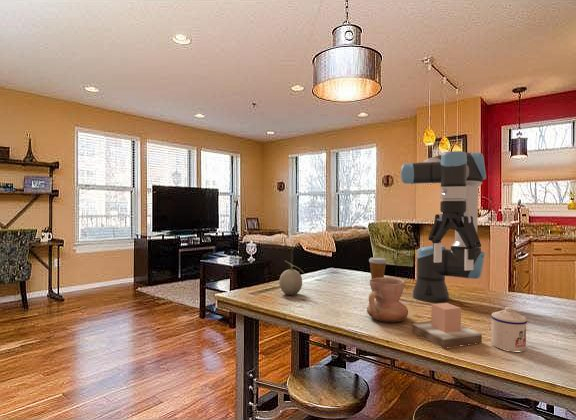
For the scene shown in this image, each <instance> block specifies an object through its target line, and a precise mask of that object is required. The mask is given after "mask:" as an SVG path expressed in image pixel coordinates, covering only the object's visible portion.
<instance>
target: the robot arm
mask: <svg viewBox="0 0 576 420" xmlns="http://www.w3.org/2000/svg"><path fill="white" fill-rule="evenodd" d="M400 179H401V181H402V183H403V184H407V185H409V184H410V185H413V184H414V185H415V184H440V199H441V201H440V206H439V207H440V209H439V210H440V212H441V214H435V216H434V222H433V224H432V227H431V229H430V233H429V235H428V237H427V238H428V241H431V243H432V245H430V246H428V245H427V246H422V247H418V249H417V257H416V281H415V284H414V287H413V290H412V297H413V299H416V300H419V301H422V302H429V303H431V302H432V303H446V302H448V301H449V300H450V293H449V290H448V288H447V284H446V277H453V278H462V279H467V280H469V279H473V280H474V279H475V280H476V279H479V278H481V276H482V273H483V267H484V262H485V255H486V252H484V251H483V250H482V243H481V240H480V237H479V235H478V221H479V220H478V218H479V216H478V214H479V213H478V210H479V209H478V208H479V187H480V186H481V185H482V184H483V180H486V179H487V173H486V165H485V158H484V154H483V153H481V152H471V151H470V152H465V151H464V150H463V151H462V150H460V151H459V150H455V151H453V150H452V151H445V152H443V153H441V154H439V155H436V156H432V157H429V158H426V159H425V160H424V161H420V162H409V163H408V162H407V163H403V164H402V166H401V169H400ZM449 230H454V242H453V243H452V244H450V249H447V248H446V246H445V245H443V243H442V240H443V238H444V237H445V236H446V235H447V232H448V231H449Z"/></svg>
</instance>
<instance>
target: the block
mask: <svg viewBox="0 0 576 420" xmlns="http://www.w3.org/2000/svg"><path fill="white" fill-rule="evenodd" d="M430 309H431V311H430V312H431V315H430V316H431V317H430V321H431V326H432V327H434V328H436V329H438V330H440V331H443V332H453V331H461V325H462V308H461V307H459V306H456V305H454V304H451V303H448V302H438V303H433V304H431V307H430Z"/></svg>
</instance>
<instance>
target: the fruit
mask: <svg viewBox="0 0 576 420" xmlns="http://www.w3.org/2000/svg"><path fill="white" fill-rule="evenodd" d="M284 262H285V263H287V264H288V265H290V268H289V269H286V270H284V271H283V272H282V273H281V274H280V277H279V280H278V281H279V283H278V284H279V287H280V289H281V292H282V293H283V294H285V295H287V296H295V295H297V294H299V293H300V291H301V289H302V287H303V277H302V274H300V272H299V271H297V270H296V269H294V268H297V269H298V270H300V271H301V272H302V273H303V274H305V272H304V271H303V270H302V269H301V268H300V267H298V266H296V265H294V264H292V263H291V262H288V261H287V260H284ZM293 267H294V268H293Z"/></svg>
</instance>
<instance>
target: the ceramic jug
mask: <svg viewBox="0 0 576 420" xmlns="http://www.w3.org/2000/svg"><path fill="white" fill-rule="evenodd" d="M405 282H406V281H405V280H404V279H401V278H396V277H387V276H384V277H383V278H374V279H372V278H371V279H370V280H369V286H370V289H371V292H369V295H368V306H367V307H366V312H367V314H368V315H369V317H371V318H373V319H374V320H376V321H379V322H384V323H399V322H402V321H404V320H405V319H406V318H407V317H408V314H409V310H408V307H407V306H406V305H405V304H403V303H402V302H401V301H400V299H401V297H402V295H403V292H404V288H405Z"/></svg>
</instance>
